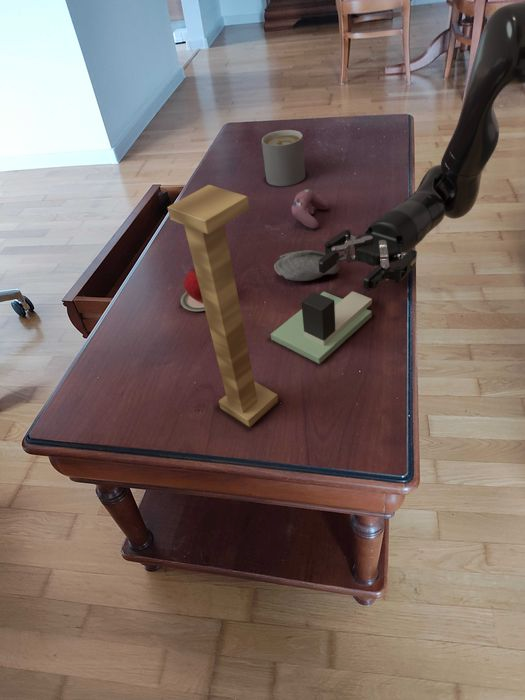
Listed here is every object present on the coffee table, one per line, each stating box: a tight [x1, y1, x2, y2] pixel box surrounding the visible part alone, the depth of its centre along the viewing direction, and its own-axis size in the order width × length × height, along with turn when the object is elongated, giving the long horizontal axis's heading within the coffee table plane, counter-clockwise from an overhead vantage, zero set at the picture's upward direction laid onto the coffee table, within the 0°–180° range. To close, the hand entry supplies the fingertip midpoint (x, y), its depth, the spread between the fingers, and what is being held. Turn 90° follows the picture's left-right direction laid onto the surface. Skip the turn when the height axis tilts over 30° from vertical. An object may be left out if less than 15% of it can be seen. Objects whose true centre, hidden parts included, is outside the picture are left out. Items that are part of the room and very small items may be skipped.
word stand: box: [167, 184, 279, 428], centre depth 63 cm, size 6×6×32 cm
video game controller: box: [291, 188, 329, 230], centre depth 111 cm, size 10×5×7 cm, turn 161°
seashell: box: [273, 249, 340, 282], centre depth 95 cm, size 12×8×5 cm
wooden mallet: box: [301, 290, 373, 346], centre depth 81 cm, size 4×13×7 cm, turn 137°
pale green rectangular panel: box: [270, 291, 373, 365], centre depth 84 cm, size 10×14×1 cm
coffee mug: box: [261, 129, 306, 187], centre depth 128 cm, size 13×10×10 cm
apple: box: [180, 268, 205, 312], centre depth 92 cm, size 8×8×6 cm
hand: (342, 276), depth 79 cm, fingers open, 8 cm apart
